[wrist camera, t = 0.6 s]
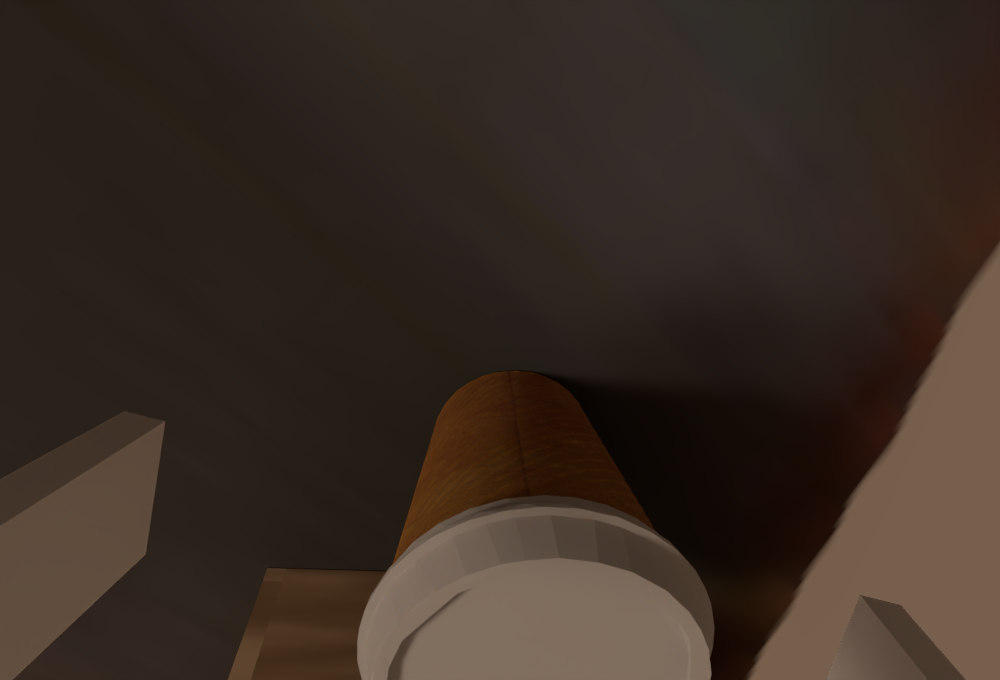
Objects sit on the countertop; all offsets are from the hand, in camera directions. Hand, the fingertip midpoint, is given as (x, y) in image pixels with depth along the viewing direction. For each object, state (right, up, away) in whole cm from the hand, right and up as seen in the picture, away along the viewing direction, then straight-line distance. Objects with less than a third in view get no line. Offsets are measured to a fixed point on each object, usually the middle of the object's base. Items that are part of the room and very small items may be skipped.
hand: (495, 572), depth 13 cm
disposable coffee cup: (+1, 0, +16) cm, 16 cm away
